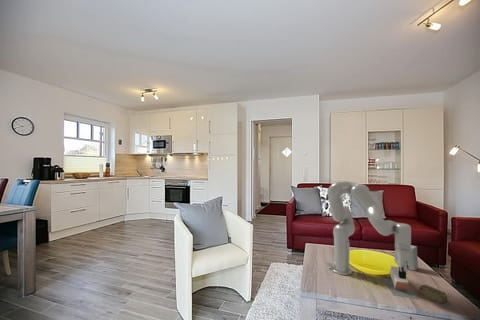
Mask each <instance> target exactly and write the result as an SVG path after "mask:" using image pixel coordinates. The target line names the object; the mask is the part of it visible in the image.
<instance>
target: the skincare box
mask: <svg viewBox="0 0 480 320" xmlns="http://www.w3.org/2000/svg"><path fill="white" fill-rule="evenodd" d="M409 254H410V268H409V269H408V268H407V270H410V271H413V272H415V271H417V270H418V269H419V263H418V262H419V260H418V246H417V245H412V244H411V250H410V251H409Z"/></svg>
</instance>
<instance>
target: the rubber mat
mask: <svg viewBox="0 0 480 320" xmlns="http://www.w3.org/2000/svg"><path fill="white" fill-rule="evenodd" d="M382 279H383V280H384V282H385V284H386V286H387V287H388V289H389V290H390V292H391V294H392V295H393V296H396V297H401V298H408V299H413V300H419V297H418V296H417V295H416V293H415V292H414V291H413V290H412V288H411V286H410V285H408V289H407V291H405V290H399V289H395V288H394V285H393V282H392V279H390V278H382Z"/></svg>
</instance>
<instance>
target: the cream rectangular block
mask: <svg viewBox="0 0 480 320" xmlns="http://www.w3.org/2000/svg"><path fill="white" fill-rule="evenodd" d="M389 275H390V278H391V280H392V282H393V285H394V288H395V289H399V290H405V291H407V289H408V286H410V283H409V280H408V277H406V279H401V278H399V267H398V266H393V265H391V266H390V270H389Z"/></svg>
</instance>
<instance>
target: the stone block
mask: <svg viewBox="0 0 480 320" xmlns="http://www.w3.org/2000/svg"><path fill="white" fill-rule="evenodd" d="M418 289H419V290H418V293H419V295H422V296H423V297H427V298H428V299H430V300H433V301H434V302H437V303H438V304H444V303H447V302H448V295H447V293H446V292H445V291H441V290H439V289H437V288H435V287H432V286H431V285H428V284H421V285H419V288H418Z"/></svg>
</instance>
